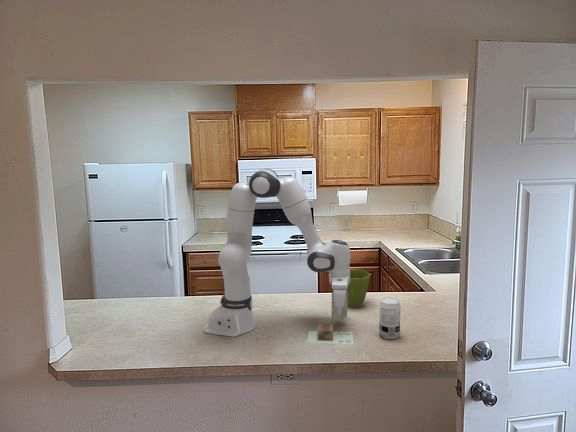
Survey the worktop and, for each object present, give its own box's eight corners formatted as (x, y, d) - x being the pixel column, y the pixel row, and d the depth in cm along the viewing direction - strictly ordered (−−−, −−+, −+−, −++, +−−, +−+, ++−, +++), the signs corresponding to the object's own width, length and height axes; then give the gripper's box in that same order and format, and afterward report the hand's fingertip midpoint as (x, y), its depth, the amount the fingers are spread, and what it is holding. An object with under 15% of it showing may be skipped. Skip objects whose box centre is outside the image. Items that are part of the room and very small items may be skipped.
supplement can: (375, 333, 169) (375, 299, 166) (392, 329, 171) (392, 296, 169) (386, 341, 161) (387, 306, 159) (404, 337, 164) (404, 302, 161)
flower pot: (332, 305, 200) (332, 274, 197) (351, 297, 209) (351, 267, 207) (356, 313, 189) (356, 280, 186) (375, 304, 199) (376, 273, 196)
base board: (307, 345, 159) (307, 340, 159) (309, 334, 169) (309, 329, 169) (353, 347, 157) (353, 342, 157) (352, 335, 167) (352, 330, 167)
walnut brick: (317, 340, 161) (317, 330, 160) (318, 333, 167) (318, 324, 166) (332, 340, 160) (332, 331, 159) (333, 333, 166) (332, 324, 165)
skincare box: (339, 315, 178) (339, 288, 176) (347, 317, 175) (348, 290, 173) (331, 319, 173) (331, 292, 171) (339, 322, 170) (340, 294, 168)
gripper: (332, 270, 181) (332, 300, 184) (331, 286, 161) (331, 318, 164) (346, 270, 181) (346, 300, 183) (347, 286, 161) (347, 319, 163)
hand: (339, 309), depth 173 cm, fingers closed on skincare box, 7 cm apart
